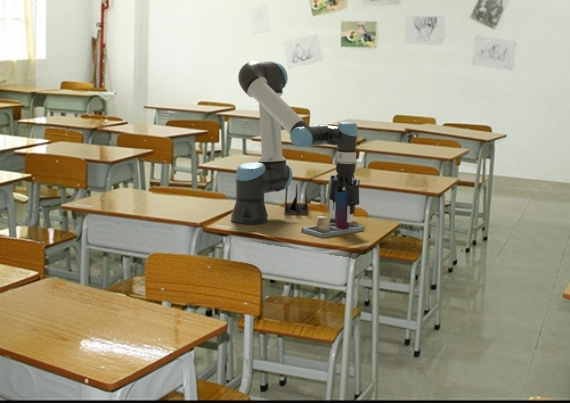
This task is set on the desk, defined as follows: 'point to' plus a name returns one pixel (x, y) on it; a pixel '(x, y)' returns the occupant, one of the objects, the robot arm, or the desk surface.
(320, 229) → the beech sleeve
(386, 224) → the desk surface
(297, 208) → the letter holder
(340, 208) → the cup
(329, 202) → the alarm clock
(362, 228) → the gray divided tray
